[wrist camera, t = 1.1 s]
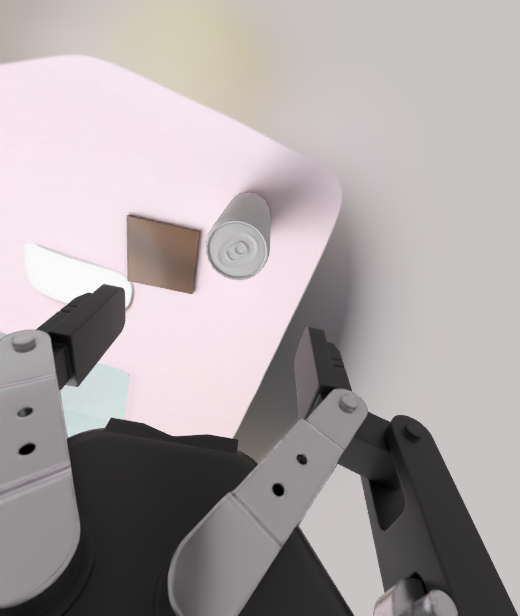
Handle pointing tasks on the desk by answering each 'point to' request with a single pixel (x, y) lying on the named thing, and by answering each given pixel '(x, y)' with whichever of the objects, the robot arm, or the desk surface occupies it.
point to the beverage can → (240, 237)
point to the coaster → (161, 254)
